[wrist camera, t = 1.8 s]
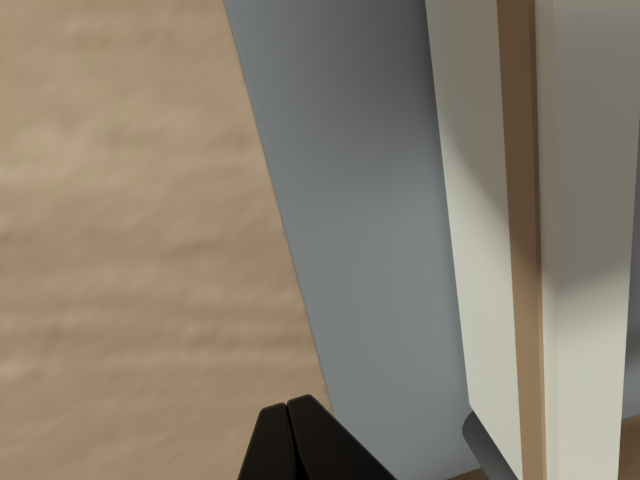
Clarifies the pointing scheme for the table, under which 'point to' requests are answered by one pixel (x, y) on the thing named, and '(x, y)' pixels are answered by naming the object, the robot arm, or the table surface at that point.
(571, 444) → the gate
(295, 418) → the robot arm
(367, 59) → the board
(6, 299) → the table surface
